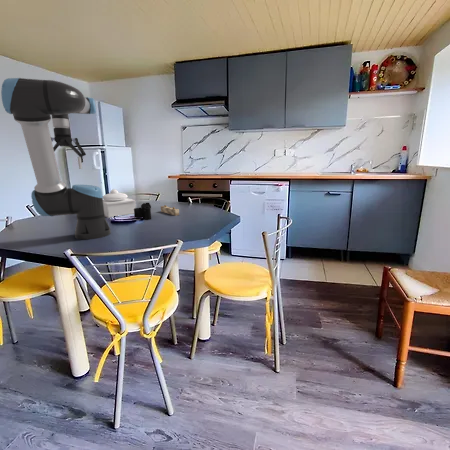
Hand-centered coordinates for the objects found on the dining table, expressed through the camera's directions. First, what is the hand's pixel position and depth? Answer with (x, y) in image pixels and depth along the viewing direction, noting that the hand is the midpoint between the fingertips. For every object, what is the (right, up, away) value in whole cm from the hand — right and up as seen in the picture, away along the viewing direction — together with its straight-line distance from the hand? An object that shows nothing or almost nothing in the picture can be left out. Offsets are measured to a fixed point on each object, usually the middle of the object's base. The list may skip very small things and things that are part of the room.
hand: (67, 169), depth 152 cm
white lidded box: (+17, -23, +27) cm, 40 cm away
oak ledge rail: (+50, -23, +26) cm, 61 cm away
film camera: (+37, -26, +14) cm, 47 cm away
